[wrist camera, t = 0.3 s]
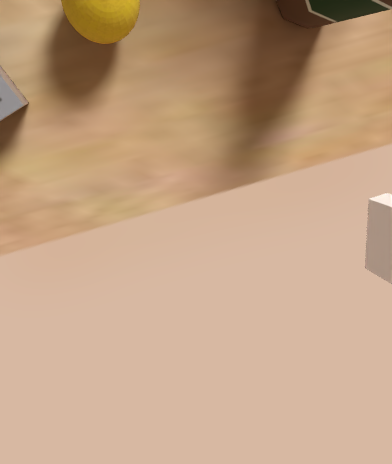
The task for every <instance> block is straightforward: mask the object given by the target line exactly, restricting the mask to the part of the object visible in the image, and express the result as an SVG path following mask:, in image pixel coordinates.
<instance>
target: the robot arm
mask: <svg viewBox="0 0 392 464" xmlns="http://www.w3.org/2000/svg"><path fill="white" fill-rule="evenodd" d="M366 242H367V243H366V260H365V268H366V269H367V270H369V271H371V272H372V273H374V274H376V275H377V276H379V277H381V278H383V279H384V280H386V281H388V282H389V283H391V284H392V194H388V193H386V194H382V195H379V196H376V197H373V198H370V199H369V204H368V223H367V241H366Z"/></svg>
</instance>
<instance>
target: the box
mask: <svg viewBox="0 0 392 464" xmlns="http://www.w3.org/2000/svg"><path fill="white" fill-rule="evenodd" d="M28 103H29V102H28V101H27V100H26V99H25V97H24V96H23V95H22V93H21V92H20V91H19V89H18V88H17V87H16V85H15V84H14V83H13V82H12V80H11V79H10V78H9V76H8V75H7V74H6V72H5V71H4V70H3V68H2V67H1V66H0V121H2V120H3V119H5V118H6V117H8V116H9V115H11V114H13V113H14V112H16V111H17V110H19V109H20V108H22V107H24V106H25V105H27V104H28Z"/></svg>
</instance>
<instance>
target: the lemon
mask: <svg viewBox="0 0 392 464" xmlns="http://www.w3.org/2000/svg"><path fill="white" fill-rule="evenodd" d="M61 2H62V6H63V10H64V12H65V14H66V16H67V18H68V21H69V22H70V23H71V25H72V26H73V27H74V29H75V30H76V31H77V32H78V33H80V34H81V35H82V36H83V37H85V38H87V39H89V40H90V41H92V42H96V43H101V44H109V43H114V42H117V41H120V40H121V39H123V38H124V37H125V36H127V35H128V34H129V32H130V31H131V30H132V29H133V27H134V25H135V23H136V21H137V18H138V14H139V8H140V0H61Z"/></svg>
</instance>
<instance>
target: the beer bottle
mask: <svg viewBox="0 0 392 464" xmlns="http://www.w3.org/2000/svg"><path fill="white" fill-rule="evenodd" d="M276 1H277V3H278V6H279V9H280V12H281V14H282V17H283V18H284V19H286V20H288V21H291V22H293V23H296V24H298V25H300V26H303V27H305V28H313V27H319V26H324V25H328V24H332V23H336V22H340V21H344V20H348V19H352V18H357V17H361V16H365V15H369V14H373V13H377V12H381V11H385V10H390V9H392V0H276Z"/></svg>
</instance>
